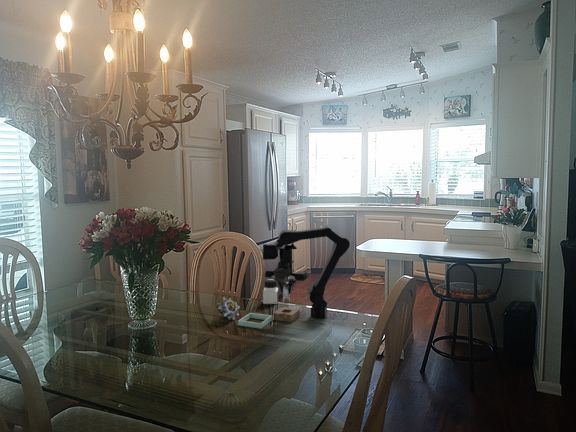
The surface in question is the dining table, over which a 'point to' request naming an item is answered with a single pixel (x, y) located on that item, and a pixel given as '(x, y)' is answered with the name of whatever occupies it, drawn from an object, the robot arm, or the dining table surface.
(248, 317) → the mint green square frame
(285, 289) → the metal pin
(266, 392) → the dining table surface
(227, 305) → the passion flower
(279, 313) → the holder block
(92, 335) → the dining table surface
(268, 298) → the medicine bottle
